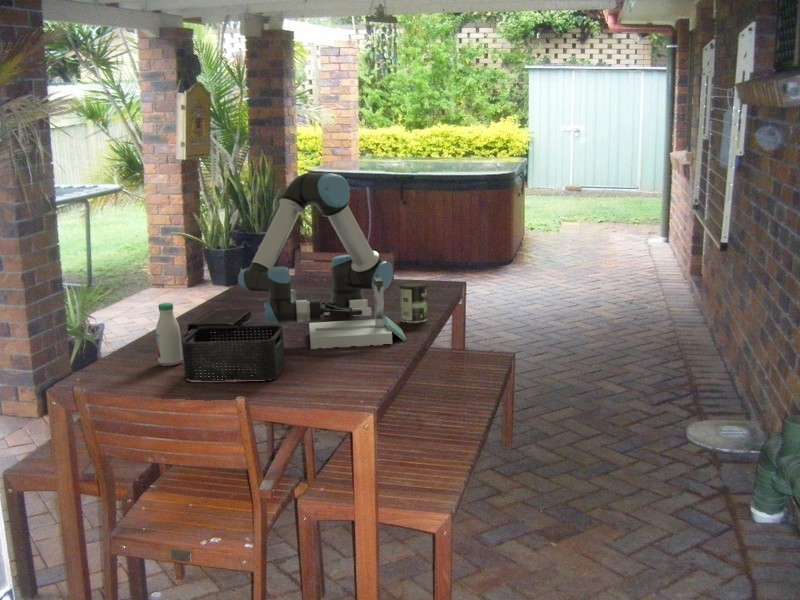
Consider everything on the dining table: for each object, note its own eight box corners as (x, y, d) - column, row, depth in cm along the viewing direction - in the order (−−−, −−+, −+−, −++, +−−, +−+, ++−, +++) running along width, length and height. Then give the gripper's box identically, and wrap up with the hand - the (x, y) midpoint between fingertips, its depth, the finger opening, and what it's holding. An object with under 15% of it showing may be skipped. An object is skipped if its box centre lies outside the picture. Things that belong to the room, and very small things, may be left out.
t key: (374, 331, 328) (373, 277, 324) (383, 330, 329) (382, 277, 324) (376, 336, 321) (374, 281, 317) (385, 335, 322) (383, 280, 318)
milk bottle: (187, 361, 302) (182, 302, 297) (174, 367, 294) (169, 307, 290) (167, 359, 304) (162, 301, 300) (153, 366, 297) (148, 306, 293)
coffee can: (429, 317, 353) (428, 281, 350) (424, 323, 343) (424, 286, 340) (403, 316, 355) (402, 281, 352) (398, 323, 345) (397, 286, 342)
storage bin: (182, 383, 278) (178, 341, 275) (200, 365, 296) (197, 325, 294) (275, 383, 276) (272, 340, 273) (287, 365, 294) (284, 324, 292)
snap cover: (382, 317, 331) (384, 315, 331) (399, 331, 333) (401, 329, 333) (386, 327, 318) (388, 324, 318) (403, 341, 319) (406, 338, 319)
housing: (309, 333, 333) (309, 322, 332) (385, 329, 336) (385, 318, 335) (310, 349, 312) (310, 337, 311) (392, 344, 315) (392, 333, 314)
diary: (187, 336, 338) (186, 323, 337) (211, 320, 362) (210, 308, 361) (235, 336, 335) (234, 323, 334) (256, 320, 359) (255, 307, 358)
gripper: (308, 313, 333) (366, 309, 335) (310, 329, 308) (373, 325, 311) (307, 292, 331) (365, 289, 334) (309, 307, 307) (372, 304, 309)
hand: (369, 307), depth 322 cm, fingers open, 13 cm apart
